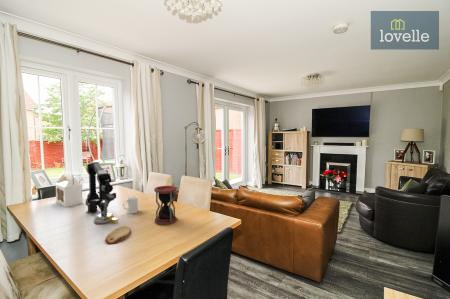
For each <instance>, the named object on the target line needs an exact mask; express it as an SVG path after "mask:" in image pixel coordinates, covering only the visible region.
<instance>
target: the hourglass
mask: <svg viewBox="0 0 450 299" xmlns="http://www.w3.org/2000/svg"><path fill="white" fill-rule="evenodd" d="M177 190H178V188H177V186H174V185H160V186H156V187H154V192H155V202H156V205H157V209H156V210H155V218H154V224H155V225H157V226H168V225H172V224H175V223H176V222H177V221H178V219H177V216H176V206H175V204H174V201H175V199H176V191H177ZM158 199H159V201H160V202H161V203H159V201H158ZM171 206H172V207H173V209H172V208H171ZM176 220H177V221H176Z"/></svg>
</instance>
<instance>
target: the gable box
mask: <svg viewBox="0 0 450 299" xmlns="http://www.w3.org/2000/svg"><path fill="white" fill-rule="evenodd" d="M74 176H75V174H73V173H70V172H68V171H67V172H66V171H64V174H62V175H61V176H60V178H59V179H58V180H57V181H56V183H55V202H56V204H59V205H61V206H63V207H65V208H68V207H72V206H77V205H79V204H80V205H81V204H83V185H82V183H81V182H79V180H78V179H77V177H74ZM67 206H68V207H67Z"/></svg>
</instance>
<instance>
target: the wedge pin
mask: <svg viewBox="0 0 450 299" xmlns="http://www.w3.org/2000/svg"><path fill="white" fill-rule="evenodd" d="M103 203H104V204H103V212H101V211H100V214H103V215H104V214H107V213H108V207H107V203H108V201H103Z"/></svg>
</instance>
